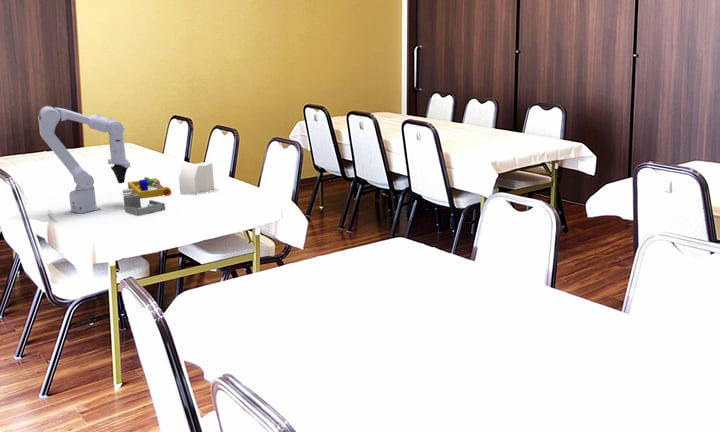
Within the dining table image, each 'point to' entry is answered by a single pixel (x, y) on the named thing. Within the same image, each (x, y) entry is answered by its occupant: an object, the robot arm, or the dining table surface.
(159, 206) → the bar
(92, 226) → the dining table surface
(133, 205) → the dice cube
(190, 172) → the white block
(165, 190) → the multicolour toy assembly
